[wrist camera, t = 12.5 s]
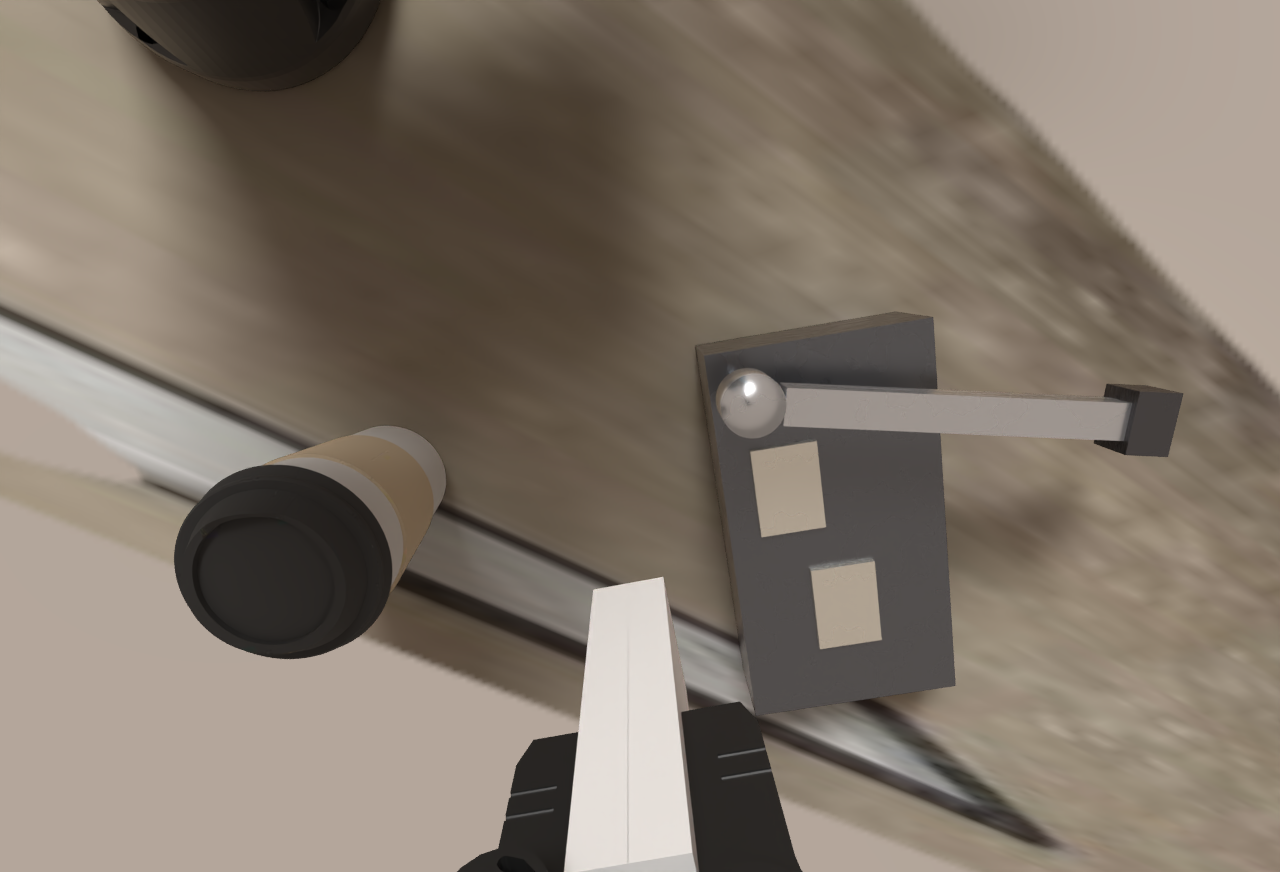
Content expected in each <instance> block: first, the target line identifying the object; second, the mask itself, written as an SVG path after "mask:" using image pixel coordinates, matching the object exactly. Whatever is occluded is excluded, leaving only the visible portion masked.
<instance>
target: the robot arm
mask: <svg viewBox="0 0 1280 872" xmlns="http://www.w3.org/2000/svg"><path fill="white" fill-rule="evenodd" d="M97 1H98V2H99V3H100V4H101V5H102V6H103V7H104V8H105V9H106V10H107V11H108V13H109V14H110V15H111V16H112V17H113V18H114V19H115V20H116V21H117V22H118V23H119V24H120V25H121V26H122V27H123V28H124V29H125V30H126V31H127V32H128V33H129V34H130V35H132V36H133V37H134V38H135V39H136V40H138V41H139V42H140V43H141V44H143V45H144V46H145V47H147V48H148V49H150V50H151V51H153V52H154V53H155V54H157V55H158V56H160V57H162V58H163V59H165V60H167V61H168V62H170V63H172V64H174V65H176V66H178V67H180V68H183V69H185V70H187V71H189V72H191V73H193V74H196V75H198V76H200V77H202V78H205V79H207V80H209V81H212V82H215V83H218V84H221V85H224V86H228V87H232V88H237V89H242V90H252V91H270V90H279V89H285V88H290V87H294V86H297V85H300V84H303V83H306V82H308V81H310V80H313V79H315V78H317V77H319V76H320V75H322V74H324V73H325V72H327V71H329V70H330V69H331V68H333V67H334V66H335V65H337V64H338V63H339V62H340V61H341V60H342V59H344V58H345V57H346V56H347V55H348V54H349V53H350V51H351V50H352V49H353V48H354V47H355V46H356V44H357V43H358V42H359V41H360V39H361V38H362V36H363V35H364V33H365V32H366V30H367V28H368V27H369V25H370V23H371V21H372V19H373V17H374V15H375V12H376V10H377V7H378V5H379V2H380V0H97ZM457 872H802V871H801V869H800V866H799V864H798V862H797V859H796V857H795V854H794V851H793V847H792V844H791V840H790V836H789V832H788V829H787V825H786V822H785V818H784V814H783V810H782V807H781V803H780V799H779V796H778V792H777V788H776V785H775V781H774V778H773V774H772V771H771V767H770V763H769V759H768V756H767V752H766V749H765V745H764V741H763V737H762V734H761V730H760V726H759V723H758V720H757V719H756V718H755V717H754V716H753V715H752V714H751V713H750V712H749V711H748V710H747V709H746V708H745V707H744V706H743V704H742V703H741V702H735V703H729V704H723V705H718V706H712V707H706V708H701V709H695V710H689V707H688V700H687V692H686V685H685V680H684V675H683V670H682V666H681V661H680V656H679V651H678V646H677V641H676V636H675V631H674V627H673V622H672V617H671V612H670V607H669V602H668V597H667V592H666V588H665V583H664V578H663V577H660V578H654V579H649V580H643V581H638V582H632V583H627V584H622V585H616V586H611V587H605V588H600V589H594V590H593V597H592V606H591V616H590V626H589V635H588V645H587V655H586V664H585V674H584V683H583V693H582V703H581V712H580V722H579V732H576V733H571V734H565V735H559V736H554V737H548V738H542V739H537V740H533V742H532V743H531V745H530V746H529V747H528V749H527V751H526V752H525V753H524V755H523V756H522V758H521V759H520V761H519V762H518V764H517V765H516V770H515V774H514V779H513V783H512V788H511V798H509V802H508V806H507V811H506V821H504V825H503V829H502V834H501V839H500V843H499V848H498V849H496V850H493V851H490V852H487V853H484V854H481V855H479V856H478V857H476V858H475V859H473V860H472V861H470V862H469V863H467V864H466V865H464V866H463V867H461V868H460V870H459V871H457Z"/></svg>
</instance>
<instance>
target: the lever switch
mask: <svg viewBox="0 0 1280 872" xmlns="http://www.w3.org/2000/svg"><path fill="white" fill-rule="evenodd" d="M696 352H697V359H698V366H699V373H700V380H701V386H702V393H703V400H704V407H705V414H706V420H707V427H708V434H709V441H710V447H711V454H712V461H713V468H714V475H715V481H716V488H717V495H718V502H719V509H720V515H721V522H722V529H723V536H724V543H725V549H726V556H727V563H728V570H729V577H730V583H731V590H732V597H733V604H734V611H735V617H736V624H737V631H738V638H739V645H740V651H741V658H742V665H743V670H744V673H745V677H746V681H747V684H748V688H749V692H750V695H751V699H752V703H753V706H754V710H755V714H756V716H757V715H764V714H770V713H777V712H784V711H790V710H797V709H804V708H811V707H817V706H824V705H831V704H837V703H844V702H851V701H857V700H864V699H871V698H877V697H884V696H891V695H897V694H904V693H911V692H917V691H924V690H931V689H937V688H944V687H951V686H955V669H954V653H953V636H952V620H951V603H950V587H949V570H948V554H947V537H946V521H945V505H944V488H943V472H942V455H941V439H940V433H927V432H904V431H882V430H859V429H836V428H813V427H790V426H783V425H782V424H780V425H779V426H778V427H777V428H776V429H775V430H774V431H773V432H772V433H770V434H768V435H766V436H764V437H760V438H745V437H741V436H739V435H737V434H735V433H734V432H732V431H731V430H730V429H729V428H728V427H727V425H726V424H725V422H724V420H723V419H722V417H721V415H720V414H719V412H718V409H717V406H716V393H717V389H718V387H719V385H720V383H721V382H722V380H723V379H724V378H725V377H726V376H727V375H728V374H730V373H731V372H733V371H735V370H738V369H742V368H754V369H758V370H760V371H762V372H764V373H765V374H767V375H768V376H769V377H771V378H772V379H773V380H774V381H776V382H777V383H778V384H779V385H780V382H785V383H807V384H829V385H852V386H874V387H896V388H919V389H937V373H936V356H935V340H934V323H933V317H929V316H922V315H915V314H908V313H902V312H891V313H885V314H879V315H874V316H868V317H862V318H856V319H850V320H844V321H838V322H832V323H826V324H820V325H814V326H808V327H802V328H797V329H791V330H785V331H779V332H773V333H767V334H761V335H755V336H749V337H743V338H737V339H731V340H725V341H719V342H714V343H708V344H702V345H696Z"/></svg>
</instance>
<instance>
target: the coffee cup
mask: <svg viewBox="0 0 1280 872" xmlns="http://www.w3.org/2000/svg"><path fill="white" fill-rule="evenodd" d="M445 489H446V473H445V468H444V465H443V462H442V460H441V458H440V456H439V454H438V453H437V451H436V450H435V448H434V447H433V446H432V445H431V444H430V443H429V442H428V441H427V440H426V439H424V438H423V437H422V436H420V435H419V434H417V433H415V432H413V431H411V430H408V429H405V428H402V427H397V426H377V427H372V428H369V429H366V430H363V431H360V432H358V433H355V434H352V435H350V436H344V437H340V438H337V439H334V440H331V441H328V442H325V443H322V444H319V445H316V446H313V447H310V448H307V449H304V450H301V451H299V452H296V453H293V454H290V455H287V456H284V457H281V458H278V459H275V460H273V461H270V462H268V463H266V464H264V465H262V466H257V467H252V468H248V469H245V470H242V471H239V472H236V473H234V474H232V475H230V476H228V477H226V478H225V479H223V480H221V481H220V482H219V483H217V484H216V485H215V486H214V487H213V488H211V489H210V490H209V491H208V492H207V493H206V494H205V496H204V497H203V498H202V499H201V501H200V502H199V503H198V504H197V505H196V506H195V507H194V508H193V509H192V510H191V511H190V513H189V514H188V516H187V517H186V519H185V520H184V522H183V524H182V526H181V528H180V531H179V533H178V536H177V540H176V545H175V552H174V565H175V573H176V578H177V582H178V585H179V588H180V591H181V593H182V595H183V597H184V599H185V601H186V603H187V605H188V606H189V608H190V609H191V611H192V612H193V614H194V616H195V617H196V618H197V620H198V621H199V622H200V623H201V624H202V625H203V626H204V627H205V628H206V629H207V630H208V631H209V632H211V633H212V634H213V635H214V636H216V637H217V638H219V639H220V640H222V641H224V642H225V643H227V644H229V645H232V646H234V647H236V648H238V649H241V650H244V651H247V652H250V653H253V654H257V655H261V656H265V657H271V658H280V659H299V658H307V657H312V656H317V655H321V654H324V653H327V652H329V651H332V650H334V649H336V648H338V647H341V646H343V645H345V644H347V643H349V642H351V641H353V640H354V639H356V638H357V637H359V636H360V635H362V634H363V633H364V632H365V631H366V630H367V629H368V628H369V627H370V626H371V625H372V624H373V623H374V622H375V621H376V619H377V618H378V616H379V615H380V614H381V612H382V610H383V608H384V606H385V604H386V602H387V599H388V596H389V594H390V593H391V592H392V591H393V589H394V588H395V586H396V585H397V583H398V581H399V579H400V578H401V576H402V574H403V572H404V571H405V569H406V567H407V565H408V564H409V562H410V560H411V558H412V557H413V555H414V553H415V551H416V549H417V548H418V546H419V544H420V542H421V541H422V539H423V537H424V535H425V534H426V532H427V530H428V528H429V526H430V523H431V520H432V516H433V515H434V513H435V511H436V510H437V508H438V506H439V505H440V503H441V501H442V499H443V496H444V493H445Z"/></svg>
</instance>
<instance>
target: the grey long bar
mask: <svg viewBox="0 0 1280 872" xmlns="http://www.w3.org/2000/svg"><path fill="white" fill-rule="evenodd" d="M1182 397H1183V393H1179V392H1174V391H1170V390H1165V389H1161V388H1156V387H1151V386H1146V385H1124V384H1106V389H1105V394H1104V397H1098V396H1075V395H1053V394H1031V393H1008V392H986V391H964V390H941V389H919V388H896V387H874V386H852V385H829V384H807V383H785V382H780V385H779V384H778V383H777V382H776V381H774V380H773V379H772V378H771V377H769V376H768V375H767V374H765V373H764V372H762V371H760V370H758V369H754V368H742V369H738V370H735V371H733V372H731V373H730V374H728V375H727V376H726V377H725V378H724V379H723V380H722V382H721V383H720V385H719V387H718V389H717V393H716V406H717V409H718V412H719V414H720V415H721V417H722V419H723V420H724V422H725V424H726V425H727V427H728V428H729V429H730V430H731V431H732V432H734V433H735V434H737V435H739V436H741V437H745V438H760V437H764V436H766V435H768V434H770V433H772V432H773V431H774V430H775V429H776V428H777V427H778V426H779V425H780V424H782V425H783V426H790V427H813V428H836V429H859V430H882V431H904V432H927V433H950V434H973V435H996V436H1019V437H1042V438H1065V439H1088V440H1094V444H1097V445H1100V446H1102V447H1105V448H1108V449H1110V450H1113V451H1116V452H1118V453H1121V454H1124V455H1135V456H1158V457H1168V454H1169V450H1170V446H1171V442H1172V438H1173V434H1174V430H1175V426H1176V422H1177V417H1178V413H1179V409H1180V405H1181V401H1182Z"/></svg>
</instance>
